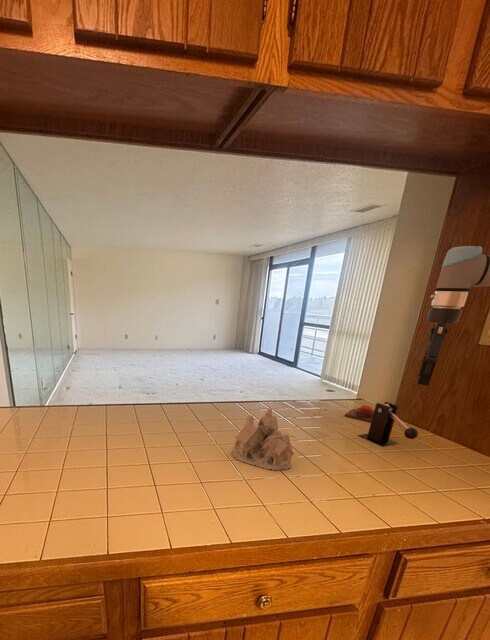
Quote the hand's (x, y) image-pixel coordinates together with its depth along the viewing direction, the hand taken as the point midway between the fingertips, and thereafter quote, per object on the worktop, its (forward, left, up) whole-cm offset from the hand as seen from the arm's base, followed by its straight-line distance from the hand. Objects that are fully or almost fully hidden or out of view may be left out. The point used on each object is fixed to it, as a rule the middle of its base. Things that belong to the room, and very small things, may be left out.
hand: (423, 380), depth 107 cm
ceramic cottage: (+42, +30, -23) cm, 57 cm away
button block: (+9, -25, -23) cm, 36 cm away
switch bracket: (+7, -1, -23) cm, 24 cm away
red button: (+9, -25, -20) cm, 33 cm away
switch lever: (+4, +2, -15) cm, 16 cm away
